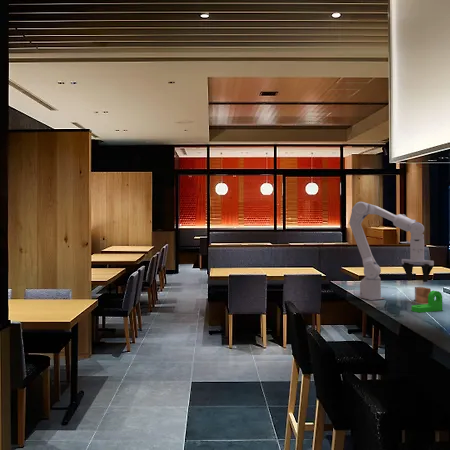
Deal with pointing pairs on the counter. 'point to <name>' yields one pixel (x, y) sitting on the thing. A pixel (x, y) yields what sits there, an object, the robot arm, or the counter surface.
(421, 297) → the terracotta block
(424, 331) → the counter surface
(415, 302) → the pad
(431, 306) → the mechanical part
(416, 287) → the block
